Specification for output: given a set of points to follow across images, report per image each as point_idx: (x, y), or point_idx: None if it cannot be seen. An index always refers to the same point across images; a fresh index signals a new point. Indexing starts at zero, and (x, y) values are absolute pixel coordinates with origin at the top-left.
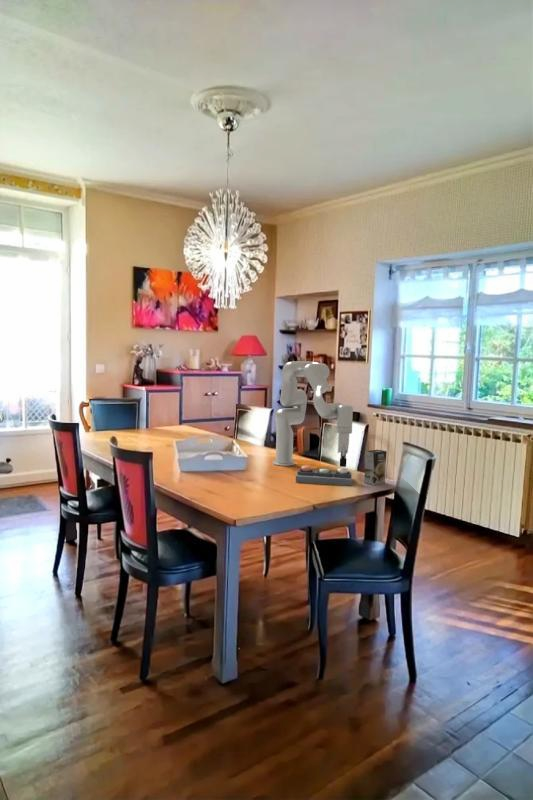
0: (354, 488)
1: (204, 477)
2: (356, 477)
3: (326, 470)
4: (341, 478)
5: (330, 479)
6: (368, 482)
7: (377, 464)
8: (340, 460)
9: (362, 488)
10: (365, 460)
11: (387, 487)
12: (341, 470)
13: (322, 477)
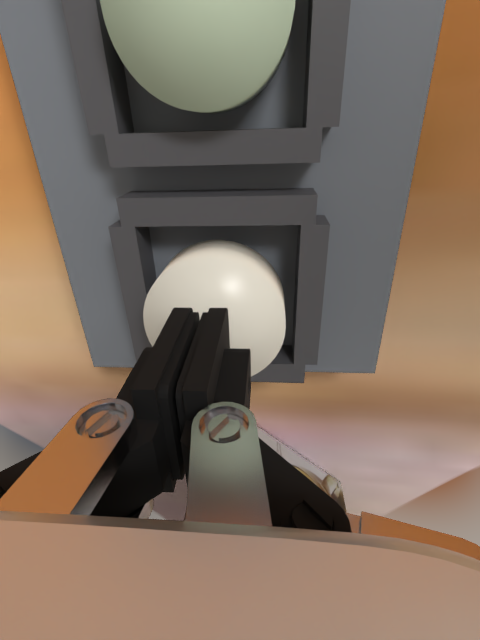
0: (50, 354)
1: None
2: (424, 380)
3: (149, 54)
4: (95, 278)
5: (39, 146)
6: None
7: None
8: (145, 374)
9: (80, 401)
10: None
11: (175, 515)
12: (145, 308)
13: (16, 10)
